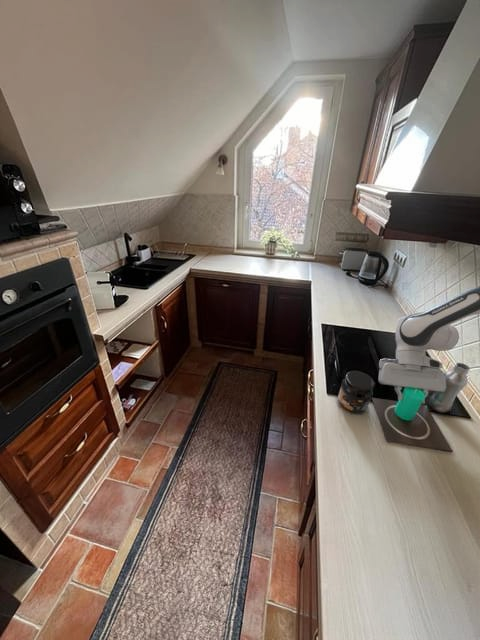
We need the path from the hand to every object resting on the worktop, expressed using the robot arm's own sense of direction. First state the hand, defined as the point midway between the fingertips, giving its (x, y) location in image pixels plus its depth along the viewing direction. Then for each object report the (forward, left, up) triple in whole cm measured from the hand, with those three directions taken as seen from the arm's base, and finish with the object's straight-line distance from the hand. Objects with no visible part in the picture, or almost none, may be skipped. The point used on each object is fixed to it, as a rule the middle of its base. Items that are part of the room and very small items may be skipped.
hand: (411, 401), depth 85 cm
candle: (0, -1, -7) cm, 7 cm away
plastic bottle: (-14, -7, -8) cm, 17 cm away
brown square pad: (0, +2, -8) cm, 8 cm away
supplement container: (+17, -3, -8) cm, 19 cm away
